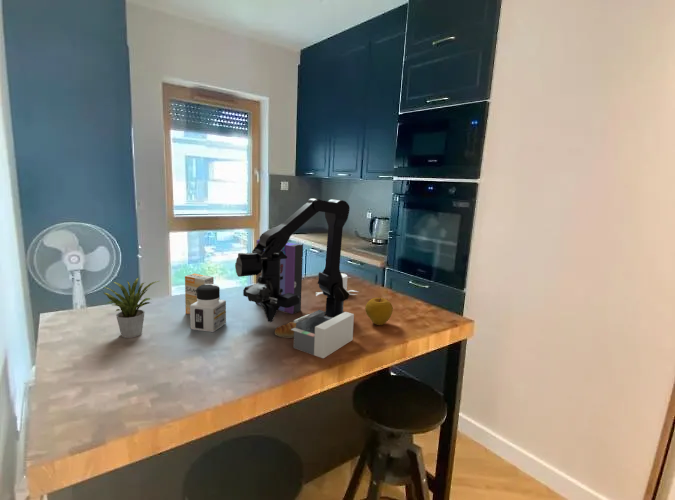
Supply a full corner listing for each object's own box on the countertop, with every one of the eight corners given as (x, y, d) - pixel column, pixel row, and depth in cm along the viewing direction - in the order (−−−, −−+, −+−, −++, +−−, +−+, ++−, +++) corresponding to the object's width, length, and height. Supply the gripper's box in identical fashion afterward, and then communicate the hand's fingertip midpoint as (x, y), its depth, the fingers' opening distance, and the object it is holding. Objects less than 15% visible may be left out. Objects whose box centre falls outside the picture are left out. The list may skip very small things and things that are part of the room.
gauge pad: (318, 331, 114) (319, 307, 113) (323, 333, 113) (324, 309, 112) (291, 345, 103) (291, 319, 102) (296, 347, 102) (297, 321, 101)
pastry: (277, 340, 108) (277, 328, 107) (272, 332, 114) (272, 320, 113) (308, 337, 111) (308, 325, 110) (302, 329, 117) (302, 317, 116)
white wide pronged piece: (369, 294, 157) (370, 275, 156) (339, 304, 143) (340, 284, 141) (333, 284, 170) (334, 267, 168) (302, 292, 155) (303, 273, 154)
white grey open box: (322, 330, 116) (323, 305, 114) (352, 339, 110) (354, 314, 109) (290, 347, 103) (291, 319, 102) (323, 358, 98) (324, 329, 96)
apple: (358, 323, 123) (360, 297, 122) (375, 316, 130) (376, 292, 128) (381, 331, 117) (382, 304, 116) (397, 324, 124) (399, 298, 122)
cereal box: (255, 303, 138) (256, 239, 134) (265, 300, 142) (265, 238, 138) (292, 314, 129) (293, 245, 124) (300, 310, 133) (302, 244, 128)
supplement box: (184, 314, 124) (183, 275, 122) (195, 309, 129) (194, 272, 126) (204, 318, 121) (203, 279, 119) (214, 313, 126) (214, 276, 123)
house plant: (153, 319, 118) (151, 269, 115) (170, 333, 108) (168, 279, 105) (101, 330, 108) (97, 276, 105) (114, 347, 98) (110, 287, 96)
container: (213, 332, 111) (213, 290, 108) (190, 329, 112) (189, 287, 110) (226, 323, 118) (226, 283, 116) (204, 320, 120) (203, 281, 117)
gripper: (229, 272, 113) (229, 321, 116) (275, 284, 103) (274, 337, 106) (256, 266, 122) (256, 312, 125) (301, 276, 112) (299, 325, 115)
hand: (270, 321), depth 117 cm, fingers closed
